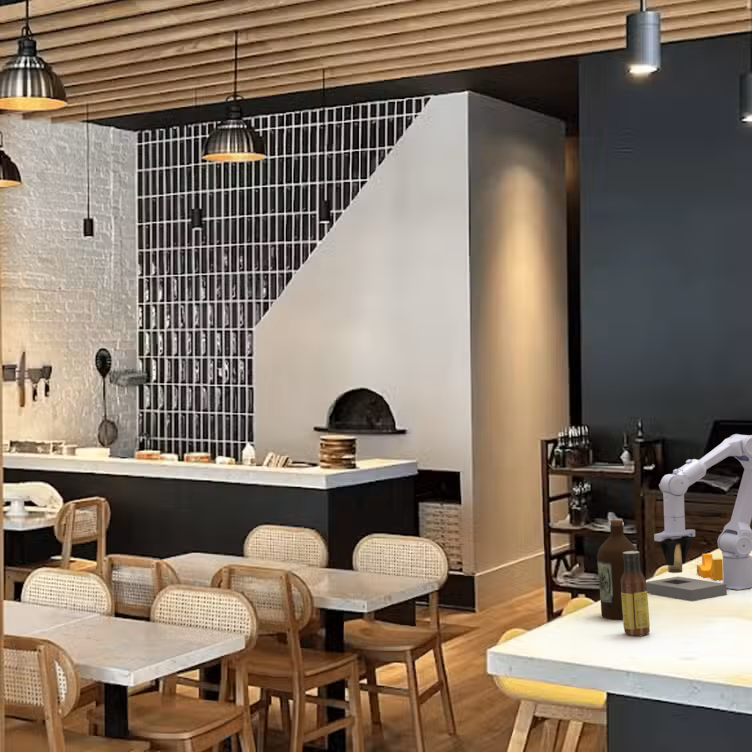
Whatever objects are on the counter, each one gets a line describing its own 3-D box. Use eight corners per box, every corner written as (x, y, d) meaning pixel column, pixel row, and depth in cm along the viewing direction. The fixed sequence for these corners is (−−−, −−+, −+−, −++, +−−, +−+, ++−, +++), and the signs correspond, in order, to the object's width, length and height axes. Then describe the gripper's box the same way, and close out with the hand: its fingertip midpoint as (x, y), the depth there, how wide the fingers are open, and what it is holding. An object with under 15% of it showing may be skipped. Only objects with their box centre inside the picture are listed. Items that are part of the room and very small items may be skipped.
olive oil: (628, 611, 330) (625, 516, 330) (648, 618, 320) (645, 520, 320) (591, 614, 327) (588, 519, 327) (611, 622, 317) (607, 523, 317)
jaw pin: (676, 570, 358) (674, 542, 358) (685, 571, 355) (684, 543, 355) (665, 571, 356) (663, 543, 356) (674, 573, 353) (673, 545, 353)
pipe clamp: (696, 575, 384) (696, 554, 384) (710, 574, 384) (710, 553, 384) (708, 581, 372) (707, 560, 372) (723, 581, 372) (722, 559, 372)
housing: (678, 586, 364) (678, 576, 364) (726, 594, 349) (726, 583, 349) (643, 592, 356) (643, 582, 356) (691, 601, 341) (691, 590, 341)
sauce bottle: (651, 631, 304) (648, 550, 304) (648, 637, 298) (645, 553, 298) (624, 630, 306) (621, 549, 306) (620, 636, 300) (617, 553, 300)
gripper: (681, 513, 362) (683, 560, 362) (645, 517, 355) (647, 565, 355) (700, 515, 357) (701, 562, 357) (664, 519, 349) (665, 568, 349)
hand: (675, 564), depth 355 cm, fingers closed on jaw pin, 4 cm apart
